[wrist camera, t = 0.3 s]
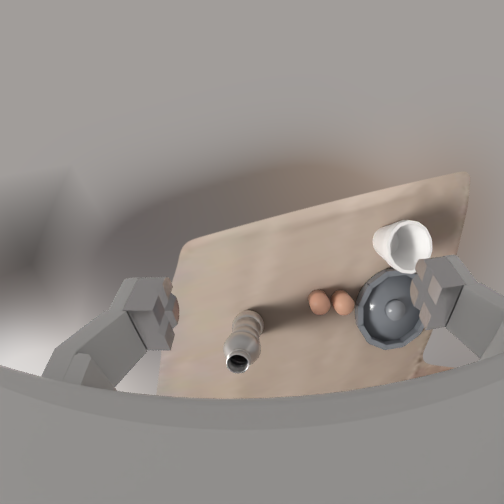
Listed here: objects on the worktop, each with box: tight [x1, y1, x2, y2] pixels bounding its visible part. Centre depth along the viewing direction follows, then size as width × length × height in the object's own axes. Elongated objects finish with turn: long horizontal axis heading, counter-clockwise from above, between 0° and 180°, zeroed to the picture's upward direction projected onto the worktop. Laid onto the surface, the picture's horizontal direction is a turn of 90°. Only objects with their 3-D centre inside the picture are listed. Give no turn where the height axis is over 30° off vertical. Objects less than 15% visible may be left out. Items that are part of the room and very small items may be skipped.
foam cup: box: [373, 220, 432, 274], centre depth 54 cm, size 10×9×13 cm
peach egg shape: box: [308, 290, 330, 315], centre depth 60 cm, size 4×4×5 cm
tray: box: [355, 268, 424, 350], centre depth 60 cm, size 18×18×3 cm
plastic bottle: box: [223, 310, 264, 373], centre depth 55 cm, size 6×7×20 cm
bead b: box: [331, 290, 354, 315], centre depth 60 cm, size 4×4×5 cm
